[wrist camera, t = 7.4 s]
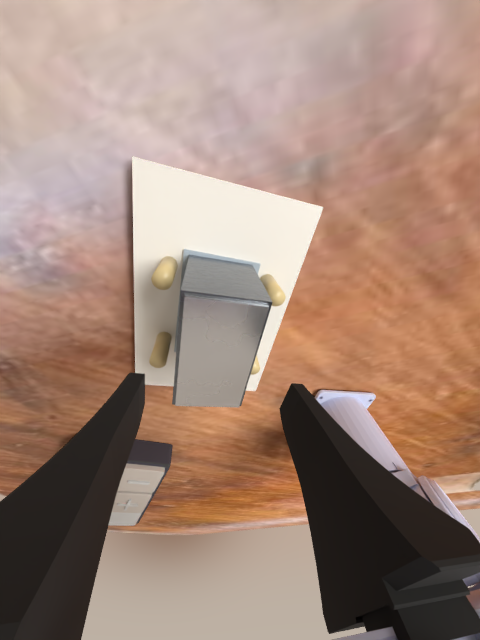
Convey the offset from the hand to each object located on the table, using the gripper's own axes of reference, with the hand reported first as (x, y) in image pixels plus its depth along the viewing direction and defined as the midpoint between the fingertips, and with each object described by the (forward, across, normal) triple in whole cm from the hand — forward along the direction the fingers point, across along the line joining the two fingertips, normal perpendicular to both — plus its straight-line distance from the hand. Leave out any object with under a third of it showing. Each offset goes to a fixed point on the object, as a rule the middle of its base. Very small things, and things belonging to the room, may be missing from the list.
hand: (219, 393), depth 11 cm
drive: (+8, 0, 0) cm, 8 cm away
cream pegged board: (+9, 0, 0) cm, 9 cm away
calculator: (+10, +9, +27) cm, 30 cm away
